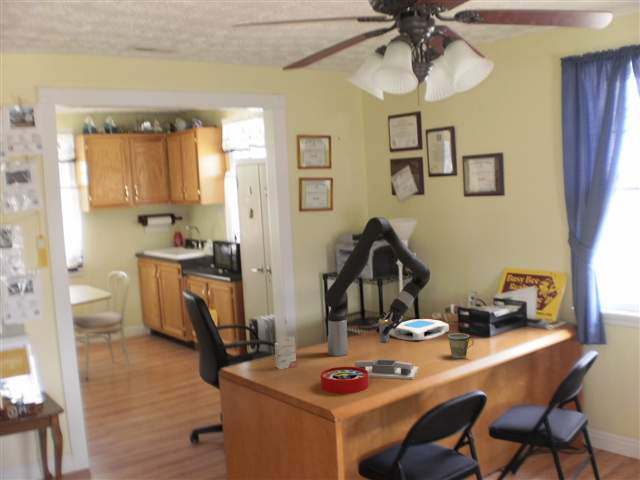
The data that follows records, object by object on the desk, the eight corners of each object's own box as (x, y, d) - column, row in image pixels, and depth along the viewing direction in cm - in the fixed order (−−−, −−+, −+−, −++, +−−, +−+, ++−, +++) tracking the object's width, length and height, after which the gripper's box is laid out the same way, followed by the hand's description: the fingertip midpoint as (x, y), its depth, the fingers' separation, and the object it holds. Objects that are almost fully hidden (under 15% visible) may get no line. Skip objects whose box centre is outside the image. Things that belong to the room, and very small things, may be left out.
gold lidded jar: (381, 343, 291) (380, 321, 290) (378, 341, 295) (377, 319, 294) (390, 342, 292) (390, 320, 291) (387, 340, 296) (386, 318, 295)
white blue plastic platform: (449, 333, 367) (449, 321, 366) (418, 342, 348) (418, 330, 347) (419, 328, 382) (419, 317, 382) (387, 337, 363) (387, 325, 362)
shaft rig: (351, 376, 291) (351, 363, 291) (360, 366, 306) (359, 354, 306) (412, 379, 283) (412, 366, 283) (418, 368, 298) (418, 356, 298)
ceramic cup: (444, 357, 317) (443, 336, 316) (455, 352, 324) (454, 332, 323) (468, 361, 308) (467, 340, 307) (479, 356, 315) (478, 335, 314)
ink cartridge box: (292, 364, 314) (290, 333, 313) (296, 366, 310) (295, 335, 308) (275, 367, 310) (274, 336, 309) (279, 369, 306) (278, 338, 304)
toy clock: (319, 367, 286) (365, 365, 287) (319, 381, 287) (365, 378, 288) (322, 381, 266) (371, 378, 267) (322, 395, 267) (371, 392, 268)
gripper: (387, 296, 302) (366, 325, 297) (406, 300, 289) (384, 331, 284) (397, 306, 305) (376, 335, 300) (416, 310, 292) (394, 341, 287)
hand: (380, 333), depth 292 cm, fingers closed on gold lidded jar, 4 cm apart
